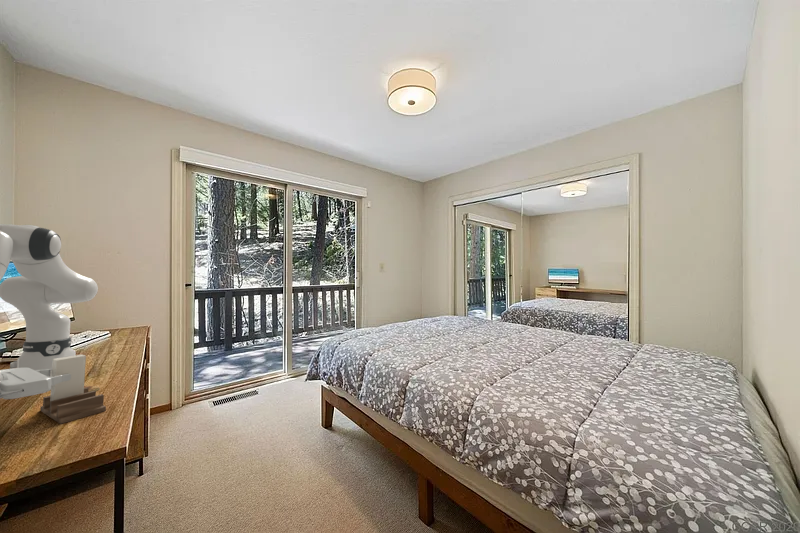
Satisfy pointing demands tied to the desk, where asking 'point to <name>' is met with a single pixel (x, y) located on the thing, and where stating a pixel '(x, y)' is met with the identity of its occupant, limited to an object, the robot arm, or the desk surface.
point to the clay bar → (77, 371)
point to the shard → (92, 388)
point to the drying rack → (73, 406)
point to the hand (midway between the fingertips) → (64, 373)
